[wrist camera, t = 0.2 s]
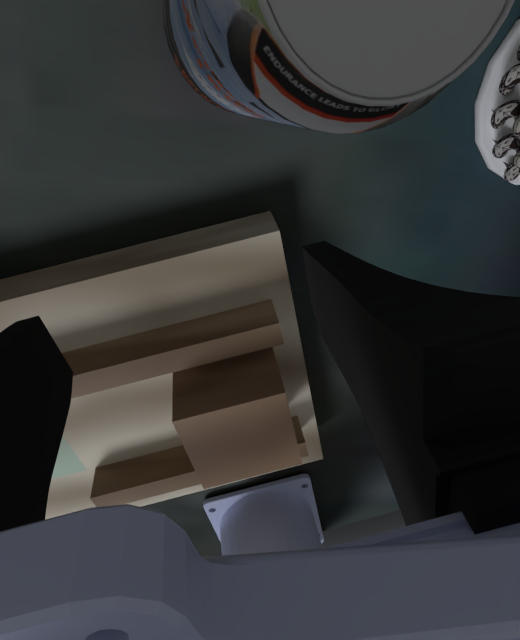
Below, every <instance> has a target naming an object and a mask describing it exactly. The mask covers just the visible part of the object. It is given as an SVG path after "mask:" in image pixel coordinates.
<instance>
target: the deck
mask: <svg viewBox="0 0 520 640" xmlns="http://www.w3.org/2000/svg"><path fill="white" fill-rule="evenodd" d="M35 316H39V317H40V318H41V320H42V321H43V323H44V325H45V326H46V328H47V330H48V331H49V333H50V335H51V336H52V338H53V340H54V341H55V343H56V345H57V346H58V348H59V349H60V351H61V353H62V354H63V356H64V358H65V359H66V361H67V363H68V364H69V366H70V368H71V369H72V371H73V383H72V395H71V404H70V408H69V412H68V416H67V420H66V425H65V429H64V432H63V436H62V440H61V444H60V448H59V451H58V455H57V459H56V463H55V467H54V470H53V474H52V479H51V483H50V488H49V493H48V501H47V508H46V515H45V520H46V519H50V518H53V517H57V516H61V515H65V514H69V513H72V512H76V511H80V510H84V509H87V508H92V507H102V506H112V505H123V504H130V505H134V506H138V507H141V506H145V505H148V504H152V503H156V502H160V501H164V500H168V499H171V498H175V497H179V496H183V495H187V494H191V493H194V492H198V491H202V490H206V489H203V487H202V484H201V482H200V480H199V478H198V476H197V474H196V472H195V470H194V467H193V465H192V463H191V461H190V459H189V457H188V455H187V452H186V450H185V448H184V446H183V444H182V442H181V440H180V438H179V435H178V433H177V431H176V429H175V427H174V425H173V423H172V391H173V372H177V371H181V370H184V369H188V368H192V367H196V366H200V365H204V364H208V363H212V362H215V361H219V360H223V359H227V358H231V357H235V356H239V355H243V354H246V353H250V352H254V351H258V350H262V349H266V348H270V347H273V351H274V354H275V358H276V361H277V365H278V368H279V372H280V375H281V379H282V382H283V386H284V389H285V393H286V397H287V401H288V405H289V410H290V414H291V418H292V422H293V426H294V431H295V435H296V439H297V443H298V448H299V452H300V456H301V460H302V464H306V463H310V462H313V461H317V460H321V459H323V455H322V450H321V444H320V439H319V434H318V429H317V423H316V418H315V413H314V408H313V402H312V397H311V392H310V387H309V381H308V376H307V371H306V366H305V361H304V355H303V350H302V345H301V340H300V334H299V329H298V324H297V319H296V313H295V308H294V303H293V298H292V292H291V287H290V282H289V277H288V272H287V266H286V261H285V256H284V251H283V245H282V240H281V235H280V230H279V228H278V226H277V224H276V222H275V220H274V218H273V215H272V213H271V211H267V212H263V213H259V214H255V215H251V216H247V217H243V218H239V219H235V220H231V221H228V222H224V223H220V224H216V225H212V226H208V227H204V228H200V229H196V230H192V231H188V232H184V233H180V234H177V235H173V236H169V237H165V238H161V239H157V240H153V241H149V242H145V243H141V244H137V245H133V246H130V247H126V248H122V249H118V250H114V251H110V252H106V253H102V254H98V255H94V256H90V257H86V258H82V259H79V260H75V261H71V262H67V263H63V264H59V265H55V266H51V267H47V268H43V269H39V270H35V271H32V272H28V273H24V274H20V275H16V276H12V277H8V278H4V279H0V332H2V331H3V330H4V329H6V328H7V327H8V326H10V325H12V324H13V323H15V322H16V321H20V320H24V319H27V318H31V317H35ZM302 464H299V465H302ZM295 466H298V465H295ZM291 467H294V466H291ZM288 468H290V467H288ZM284 469H287V468H284ZM280 470H283V469H280ZM276 471H279V470H276ZM272 472H275V471H272ZM268 473H271V472H268ZM265 474H267V473H265ZM261 475H264V474H261ZM257 476H260V475H257ZM253 477H256V476H253ZM249 478H252V477H249ZM245 479H248V478H245ZM242 480H244V479H242ZM238 481H241V480H238ZM234 482H237V481H234ZM230 483H233V482H230ZM226 484H229V483H226ZM222 485H225V484H222ZM219 486H221V485H219ZM215 487H217V486H215ZM211 488H214V487H211ZM207 489H210V488H207Z"/></svg>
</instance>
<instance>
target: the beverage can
mask: <svg viewBox="0 0 520 640" xmlns="http://www.w3.org/2000/svg"><path fill="white" fill-rule="evenodd" d="M514 1H515V0H163V18H164V29H165V33H166V38H167V42H168V46H169V49H170V51H171V54H172V56H173V59H174V61H175V63H176V65H177V67H178V68H179V70H180V72H181V74H182V75H183V77H184V78H185V79H186V81H187V82H188V83H189V84H190V86H191V87H192V88H193V89H194V90H195V91H196V92H197V93H198V94H200V95H201V96H202V97H203V98H204V99H205V100H207V101H209V102H210V103H212V104H213V105H215V106H217V107H219V108H221V109H224V110H227V111H229V112H233V113H238V114H242V115H247V116H251V117H256V118H261V119H265V120H270V121H274V122H279V123H284V124H288V125H293V126H297V127H302V128H307V129H311V130H317V131H322V132H328V133H333V134H339V133H361V132H365V131H370V130H374V129H379V128H383V127H385V126H387V125H390V124H392V123H394V122H397V121H399V120H401V119H404V118H406V117H407V116H409V115H410V114H412V113H413V112H415V111H416V110H418V109H420V108H421V107H423V106H424V105H426V104H427V103H428V102H430V101H431V100H432V99H433V98H434V97H435V96H436V95H437V94H438V93H440V92H441V91H442V90H443V89H444V88H445V87H446V86H447V85H448V84H449V83H450V82H451V81H453V80H454V79H456V78H457V77H458V76H459V75H460V74H461V73H462V72H463V71H465V70H466V69H467V68H468V67H469V66H470V65H471V64H472V63H473V62H474V61H475V60H476V59H477V58H478V57H479V55H480V54H481V53H482V52H483V51H484V49H485V48H486V47H487V46H488V45H489V43H490V42H491V41H492V39H493V38H494V36H495V35H496V33H497V32H498V30H499V28H500V27H501V25H502V24H503V22H504V20H505V19H506V17H507V16H508V14H509V11H510V9H511V7H512V5H513V3H514Z"/></svg>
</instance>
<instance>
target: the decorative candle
mask: <svg viewBox="0 0 520 640" xmlns="http://www.w3.org/2000/svg"><path fill="white" fill-rule="evenodd" d="M474 116H475V143H476V145H477V147H478V149H479V151H480V153H481V155H482V157H483V159H484V161H485V163H486V165H487V167H488V168H489V169H490V170H492V171H493V172H495V173H496V174H498V175H499V176H501V177H502V178H504V179H505V180H507V181H509V182H510V183H512V184H514V185H520V18H519V19H518V20H516V22H515V23H514V25H513V26H512V28H511V29H510V30H509V32H508V33H507V35H506V36H505V38H504V39H503V41H502V42H501V44H500V45H499V47H498V48H497V50H496V51H495V53H494V54H493V56H492V57H491V59H490V60H489V62H488V64H487V67H486V70H485V73H484V76H483V80H482V83H481V86H480V89H479V92H478V95H477V98H476V101H475V104H474Z"/></svg>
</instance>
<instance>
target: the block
mask: <svg viewBox="0 0 520 640" xmlns="http://www.w3.org/2000/svg"><path fill="white" fill-rule="evenodd" d="M172 423H173V425H174V427H175V429H176V431H177V433H178V435H179V438H180V440H181V442H182V444H183V446H184V448H185V450H186V452H187V455H188V457H189V459H190V461H191V463H192V465H193V467H194V470H195V472H196V474H197V476H198V478H199V480H200V482H201V484H202V487H203V489H207V488H211V487H215V486H219V485H222V484H226V483H230V482H234V481H238V480H242V479H245V478H249V477H253V476H257V475H261V474H265V473H268V472H272V471H276V470H280V469H284V468H288V467H291V466H295V465H299V464H302V460H301V456H300V452H299V448H298V443H297V439H296V435H295V431H294V426H293V422H292V418H291V414H290V410H289V405H288V401H287V397H286V393H285V389H284V386H283V382H282V379H281V375H280V372H279V368H278V365H277V361H276V358H275V354H274V351H273V347H270V348H266V349H262V350H258V351H254V352H250V353H246V354H243V355H239V356H235V357H231V358H227V359H223V360H219V361H215V362H212V363H208V364H204V365H200V366H196V367H192V368H188V369H184V370H181V371H177V372H173V391H172Z"/></svg>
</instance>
